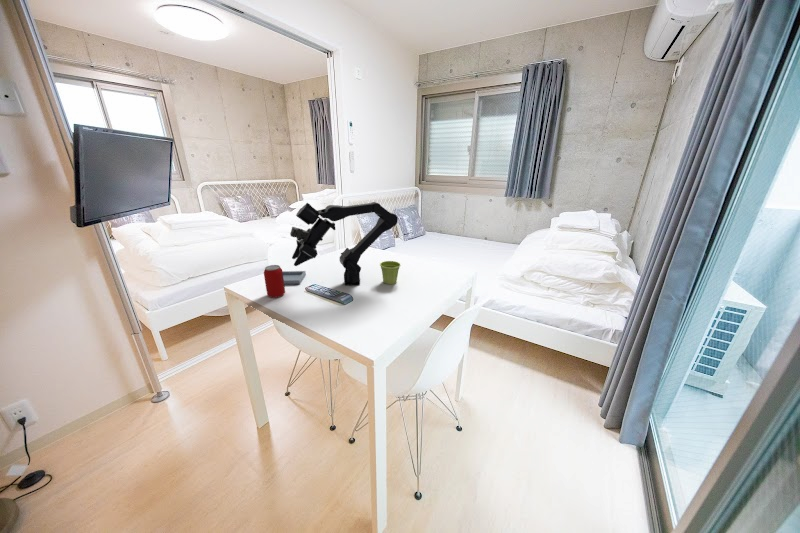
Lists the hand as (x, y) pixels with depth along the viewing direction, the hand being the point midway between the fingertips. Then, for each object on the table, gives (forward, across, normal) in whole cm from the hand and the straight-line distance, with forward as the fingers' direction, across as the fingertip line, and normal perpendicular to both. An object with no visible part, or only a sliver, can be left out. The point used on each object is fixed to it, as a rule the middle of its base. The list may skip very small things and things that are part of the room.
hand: (293, 262), depth 110 cm
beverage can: (+15, +1, +3) cm, 15 cm away
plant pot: (-17, +5, +39) cm, 43 cm away
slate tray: (+11, -14, +7) cm, 19 cm away
